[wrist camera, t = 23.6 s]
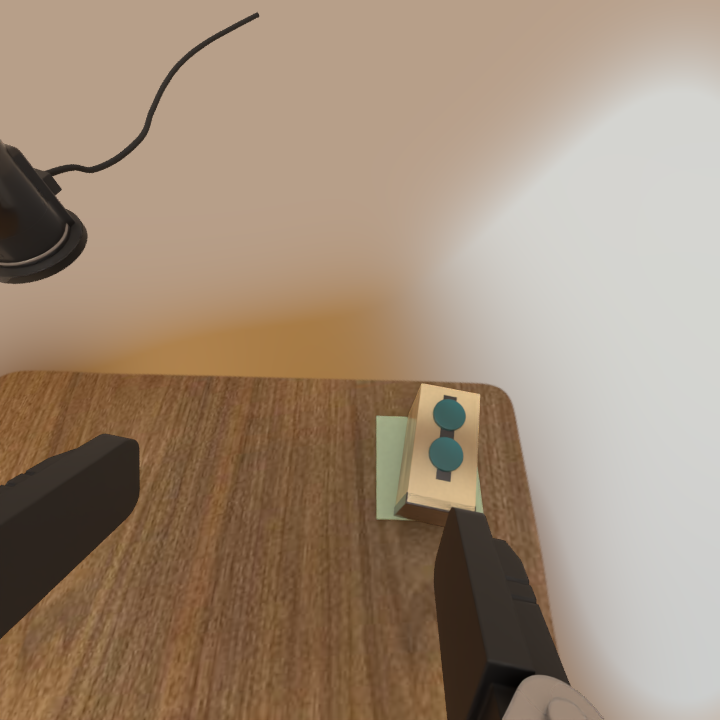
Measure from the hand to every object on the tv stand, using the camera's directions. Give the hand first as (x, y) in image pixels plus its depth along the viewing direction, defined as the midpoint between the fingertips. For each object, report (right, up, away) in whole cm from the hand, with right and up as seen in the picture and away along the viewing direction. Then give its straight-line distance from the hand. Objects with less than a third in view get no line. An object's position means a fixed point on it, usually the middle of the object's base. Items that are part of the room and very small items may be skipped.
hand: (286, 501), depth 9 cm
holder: (+8, -6, +24) cm, 26 cm away
